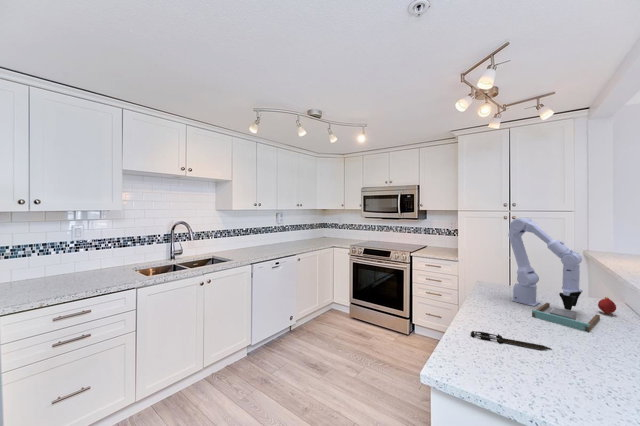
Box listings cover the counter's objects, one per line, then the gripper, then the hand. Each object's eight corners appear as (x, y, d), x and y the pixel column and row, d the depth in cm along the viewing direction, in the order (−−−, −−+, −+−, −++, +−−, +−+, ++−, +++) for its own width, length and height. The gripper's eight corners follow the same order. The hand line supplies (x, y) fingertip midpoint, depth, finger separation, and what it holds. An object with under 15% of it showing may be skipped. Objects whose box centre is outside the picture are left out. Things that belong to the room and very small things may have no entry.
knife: (551, 349, 97) (551, 345, 97) (555, 358, 92) (555, 353, 92) (471, 331, 111) (471, 328, 111) (470, 338, 106) (470, 334, 106)
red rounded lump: (607, 311, 129) (608, 295, 129) (619, 316, 123) (620, 299, 123) (594, 311, 130) (594, 294, 129) (605, 316, 124) (606, 299, 123)
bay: (531, 316, 124) (532, 310, 124) (546, 306, 136) (546, 300, 136) (588, 332, 109) (589, 324, 109) (599, 319, 120) (600, 312, 120)
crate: (549, 321, 120) (549, 312, 120) (555, 316, 125) (555, 308, 124) (570, 326, 114) (571, 317, 114) (575, 322, 119) (576, 313, 119)
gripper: (578, 283, 119) (577, 314, 119) (586, 278, 127) (585, 306, 128) (557, 279, 124) (556, 309, 125) (566, 274, 133) (566, 302, 133)
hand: (570, 307), depth 127 cm, fingers open, 7 cm apart
